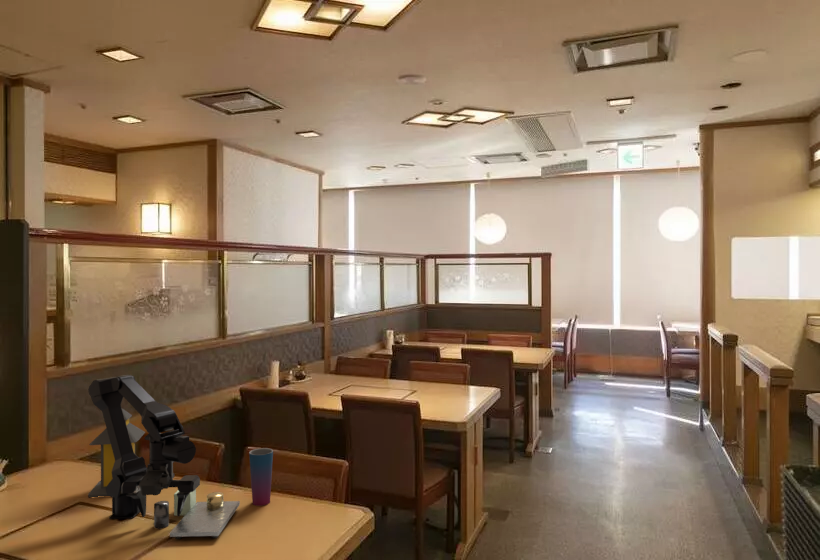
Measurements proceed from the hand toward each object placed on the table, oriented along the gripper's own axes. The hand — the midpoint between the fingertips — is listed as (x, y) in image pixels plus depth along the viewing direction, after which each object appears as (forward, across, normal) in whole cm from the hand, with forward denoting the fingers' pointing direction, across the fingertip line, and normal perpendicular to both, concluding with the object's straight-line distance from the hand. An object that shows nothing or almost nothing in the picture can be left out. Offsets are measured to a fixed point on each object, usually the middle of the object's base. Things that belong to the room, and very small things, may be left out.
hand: (161, 516), depth 151 cm
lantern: (+3, -25, +29) cm, 38 cm away
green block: (+3, +3, +9) cm, 10 cm away
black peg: (+2, 0, 0) cm, 3 cm away
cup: (+3, +23, +15) cm, 28 cm away
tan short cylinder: (0, +12, +7) cm, 14 cm away
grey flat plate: (+2, +12, 0) cm, 12 cm away
